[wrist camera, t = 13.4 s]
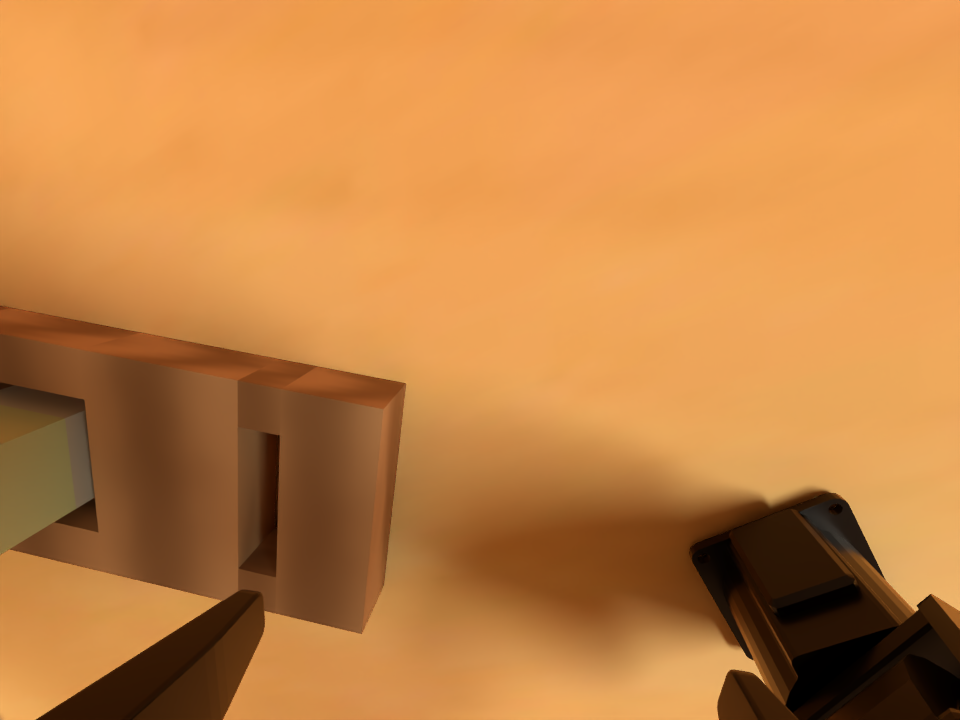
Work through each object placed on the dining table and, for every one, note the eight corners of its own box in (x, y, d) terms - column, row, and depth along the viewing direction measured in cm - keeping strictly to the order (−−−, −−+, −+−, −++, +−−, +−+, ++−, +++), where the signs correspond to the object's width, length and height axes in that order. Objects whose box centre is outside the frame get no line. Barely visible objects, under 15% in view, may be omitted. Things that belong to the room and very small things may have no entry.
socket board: (405, 383, 21) (383, 409, 18) (383, 584, 24) (361, 633, 21) (-39, 298, 23) (-123, 309, 20) (-4, 495, 26) (-72, 529, 23)
